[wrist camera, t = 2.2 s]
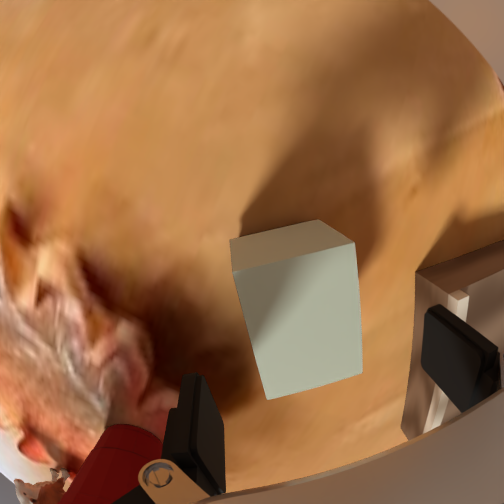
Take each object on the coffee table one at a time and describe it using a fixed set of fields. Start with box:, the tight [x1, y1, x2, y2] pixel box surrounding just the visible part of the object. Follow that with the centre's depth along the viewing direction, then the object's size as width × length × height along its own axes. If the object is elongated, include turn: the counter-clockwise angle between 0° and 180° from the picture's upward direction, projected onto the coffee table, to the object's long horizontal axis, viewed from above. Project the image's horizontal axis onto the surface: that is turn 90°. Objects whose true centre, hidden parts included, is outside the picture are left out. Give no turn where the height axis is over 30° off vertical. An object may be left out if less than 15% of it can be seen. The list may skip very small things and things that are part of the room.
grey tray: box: [401, 240, 504, 441], centre depth 20 cm, size 18×14×5 cm
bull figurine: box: [14, 468, 70, 504], centre depth 20 cm, size 4×13×8 cm, turn 51°
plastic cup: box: [57, 424, 163, 504], centre depth 16 cm, size 11×11×12 cm
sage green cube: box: [230, 219, 362, 400], centre depth 16 cm, size 7×5×6 cm
